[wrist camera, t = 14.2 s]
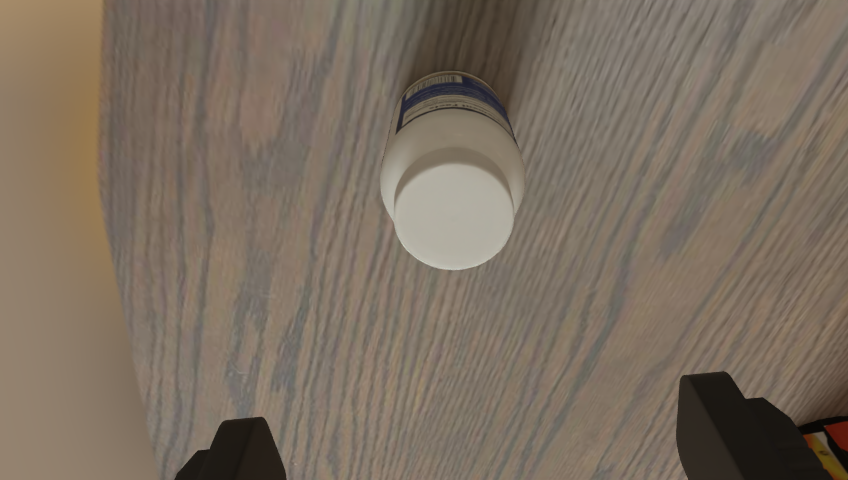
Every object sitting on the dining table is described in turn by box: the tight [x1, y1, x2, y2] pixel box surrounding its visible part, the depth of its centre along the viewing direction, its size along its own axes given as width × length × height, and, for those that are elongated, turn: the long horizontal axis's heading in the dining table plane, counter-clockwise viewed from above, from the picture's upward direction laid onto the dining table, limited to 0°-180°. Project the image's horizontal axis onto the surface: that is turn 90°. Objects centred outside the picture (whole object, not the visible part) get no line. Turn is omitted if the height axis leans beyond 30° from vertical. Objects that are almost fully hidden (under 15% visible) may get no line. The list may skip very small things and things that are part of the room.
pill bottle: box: [380, 71, 525, 270], centre depth 24 cm, size 5×5×10 cm
